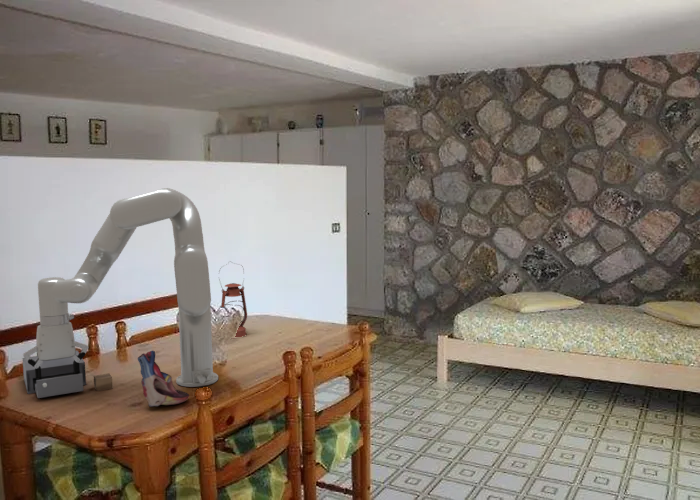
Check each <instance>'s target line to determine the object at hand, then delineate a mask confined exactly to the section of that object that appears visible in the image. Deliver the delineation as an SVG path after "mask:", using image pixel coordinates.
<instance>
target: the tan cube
mask: <svg viewBox="0 0 700 500" xmlns="http://www.w3.org/2000/svg"><path fill="white" fill-rule="evenodd" d="M93 386H94V387H93V388H94V389H95V391H96V392H99V391H104V390H111V389H113V388H114V387H113V376H112V375H111V374H110V373H103V374H102V373H101V374H95V375H93Z"/></svg>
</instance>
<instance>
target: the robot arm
mask: <svg viewBox="0 0 700 500" xmlns="http://www.w3.org/2000/svg"><path fill="white" fill-rule="evenodd" d="M168 219H169V220H170V222H171V224H172V232H173V234H172V235H173V240H174V252H175V254H174V260H173V268H174V278H175V289H176V299H177V305H178V326H179V330H178V331H179V351H180V375H179V376H177V377H176V379H175V382H176V384H177V385H179V386H182V387H187V388H189V387H190V388H194V387H195V388H196V387H197V388H198V387H204V386H209V385H212V384H215V383H216V382H217V381H218V380H219V375H218V374H217V373H216V372H214V369H213V367H214V366H213V365H214V364H213V362H214V361H213V340H212V310H211V302H212V296H211V295H212V294H211V293H212V291H211V281H210V271H209V262H208V257H207V253H206V250H205V243H204V234H203V227H202V226H203V225H202V220H201V216H200V213H199V211H198V208H197V206H196V204H194V201H192V200H191V198H189V197H188V196H187V195H186V194H184V193H182V192H180V191H178V190H176V189H172V188H169V187H167V188H161V189H157V190H153V191H151V192H147V193H144V194H140V195H136V196H132V197H128V198H122V199H119V200H117V201H116V202H114V203H113V204H112V206H111V208H110V211H109V213H108V216H107V217H106V219H105V221H104V222H103V224H101V225H102V226H100V228H99V230H98V231H97V233H96V235H95V236H94V237H93V240H92V242H91V244H90V249H89V252H88V253H87V256H86V258H85V259H84V261H83V262H82V264H81V265H80V267H79V269H78V270H77V272H76V274H75V275H74V277H72V278H67V279H65V278H64V277H58V276H57V277H55V276H54V277H45V278H41V279H39V281H38V283H37V294H38V307H39V325H37V328H36V337H35V338H36V339H35V341H36V343H35V344H36V345H35V346H34V347H32V348H30V349H29V350H27V351H24V353H23V354H22V357H23V358H25V359H26V361H27V362H28V363H29V364H30V365H32V366H33V367H34V368H35V376H36V379H37V378H38V380H41V379H42V376H41V367H40V365H41V364H42V362H43V361H49V360H56V359H63V358H70V357H71V358H72V359H74V361H73V368H74V374H78V372H80V367H79V362H80V360H81V359H83V358H84V357H85V356H86V353H87V351H88V350H89V346H88V345H87V344H85V343H82V342H79V341H75V339H76V338H75V333H74V328H73V324H72V322H70V321H71V320H73V319H75V315H74V314H72V313H71V314H70V313H69V304H83V303H87V302H88V301H89V300H90V299H91V298H92V297H93V295H94V294H96V292H97V290H98V289H99V287H100V285H101V284H102V282H103V280H104V279H105V277H106V276H107V274H108V273H109V272H110V269H111V268H112V266H113V265H114V263H115V262H116V261H117V260H118V258H119V257H120V255H121V253H122V252H123V250H124V249H125V247H126V245H127V244H128V242H129V241H130V239H131V237H132V236H133V234H134V233H135V232H136V231H135V230H136V229H137V228H139V227H142V226H146V225H149V224H154V223H157V222H160V221H164V220H168ZM76 348H79V349H81V351H80V352H79V355H78V356H77V355H76V351H77V350H76ZM35 353H36V356H37V357H38V359H37V360H36V361H34V360H32V359H31V358H30V357H31V355H32V356H33V354H35Z"/></svg>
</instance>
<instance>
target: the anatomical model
mask: <svg viewBox="0 0 700 500" xmlns="http://www.w3.org/2000/svg"><path fill="white" fill-rule="evenodd" d="M137 362H138V363H139V366H140V375H141V376H142V379H141V382H140V383H141V385H142V390H143V394H142V395H143V397H144V398H145V400H147V403H148V406H149V407H159V406H161V405H162V406H171V405H172V406H173V405H178V404H182V403H184V402H186V401H187V400H188V399H189V398H190V394H189V393H188V392H186V391H183V390H180V389H176V388H175V386H174V383H173V380H172V379H173V378H172V375H170V374H169V373H167V372H164V371H161V369H160V366H159V365H158V363H157V362H156V352H155V350H150V351H148V352H146V353H141V354H140V355H139V356H138V357H137Z"/></svg>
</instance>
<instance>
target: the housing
mask: <svg viewBox="0 0 700 500" xmlns="http://www.w3.org/2000/svg"><path fill="white" fill-rule="evenodd" d="M79 353H80V352H79V350H76V355H77V356H78V355H79ZM30 358H31V359H32V360H34V361H36V360H37V359H38V357H37V355H35V356H33V355H32V356H30ZM73 361H74V359H72V358H71V357H70V358H63V359H56V360H49V361H43V362H42V364H41V365H40V367H41V376H42V377H47V376H53V375H60V374H67V373H74V368H73ZM79 367H80V372H78V374H81V373H82V377H83V386H85V385H87V379H86V378H87V375H86V373H87V372H86V363H85V360H84V359H83V358H82V359H81V360H80V362H79ZM22 370H23V382H24V385H25V389H26V392H27V394H28V395H29V394H31V395H32V394H36V391H35V387H34V384H33V378H36V376H35V368H34V367H33V366H32V365H30V364H29V363H28V362H27V361H26V359H25V358H24V357H22Z"/></svg>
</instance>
